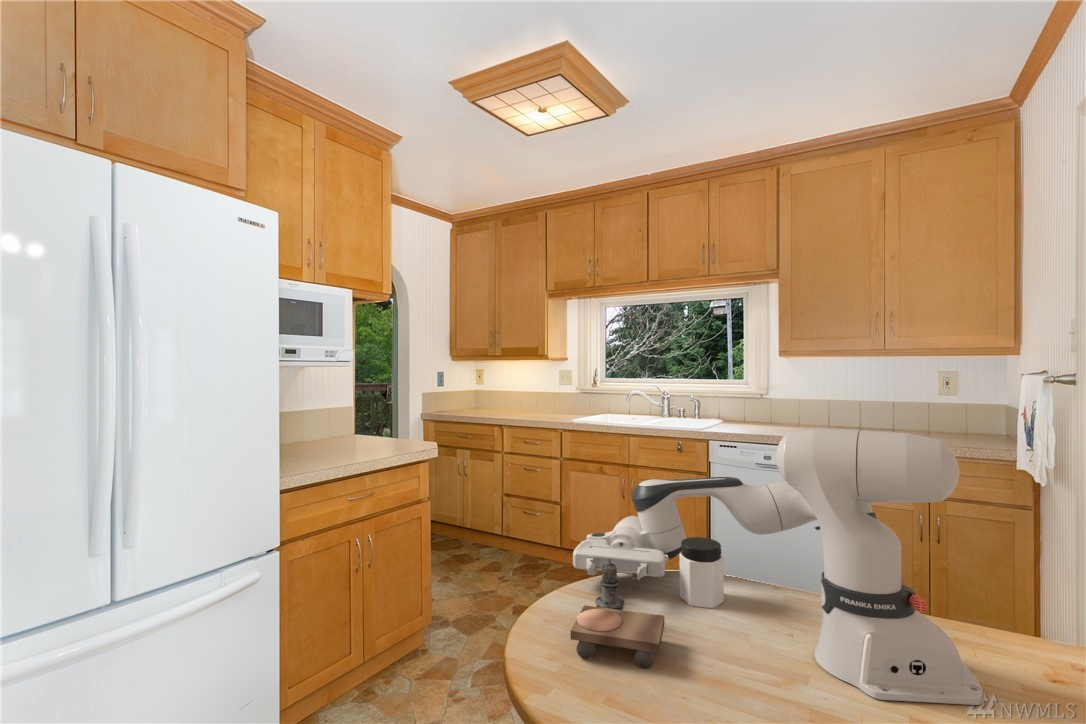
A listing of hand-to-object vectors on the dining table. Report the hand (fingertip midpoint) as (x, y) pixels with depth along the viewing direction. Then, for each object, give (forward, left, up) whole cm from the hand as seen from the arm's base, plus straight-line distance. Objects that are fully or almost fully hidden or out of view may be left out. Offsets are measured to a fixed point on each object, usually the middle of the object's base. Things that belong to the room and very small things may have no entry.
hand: (613, 573), depth 111 cm
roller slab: (-4, +16, -7) cm, 18 cm away
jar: (-17, -8, -7) cm, 20 cm away
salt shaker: (0, +6, -7) cm, 9 cm away
